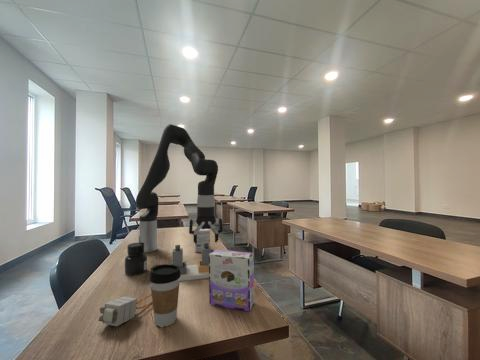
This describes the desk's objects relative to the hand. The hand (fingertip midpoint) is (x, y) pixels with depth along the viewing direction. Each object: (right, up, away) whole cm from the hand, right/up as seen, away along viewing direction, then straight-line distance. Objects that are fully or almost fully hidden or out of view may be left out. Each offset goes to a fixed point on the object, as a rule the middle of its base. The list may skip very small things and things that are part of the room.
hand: (205, 242), depth 97 cm
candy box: (+12, -13, -25) cm, 31 cm away
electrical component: (-17, -13, -26) cm, 34 cm away
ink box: (-7, -13, +30) cm, 34 cm away
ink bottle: (-31, -13, +1) cm, 34 cm away
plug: (0, -11, 0) cm, 11 cm away
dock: (-6, -13, -1) cm, 14 cm away
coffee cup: (-6, -13, -33) cm, 36 cm away
